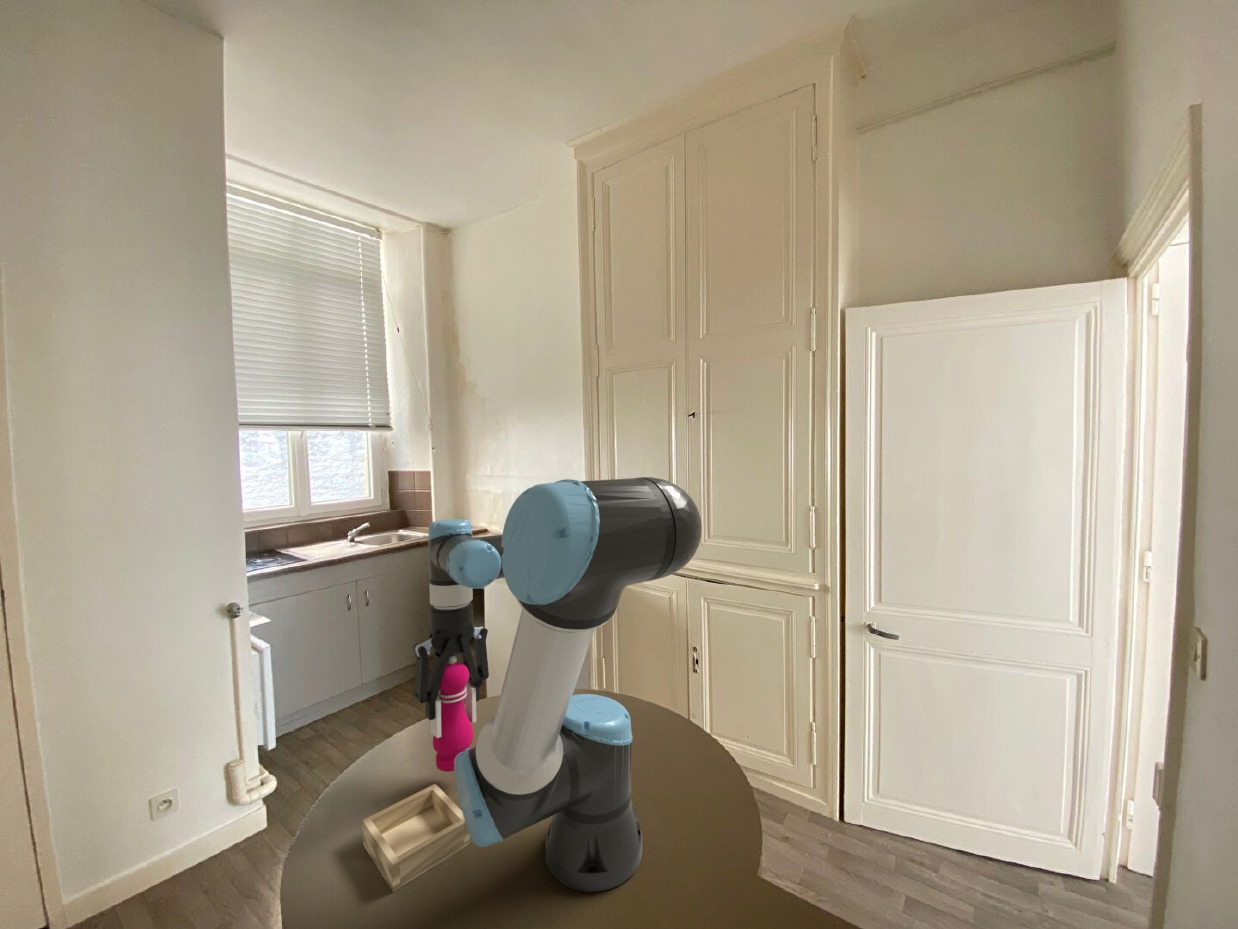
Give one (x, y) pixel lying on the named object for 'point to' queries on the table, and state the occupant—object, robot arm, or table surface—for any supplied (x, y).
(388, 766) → the table surface
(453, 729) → the pepper mill
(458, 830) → the tray
